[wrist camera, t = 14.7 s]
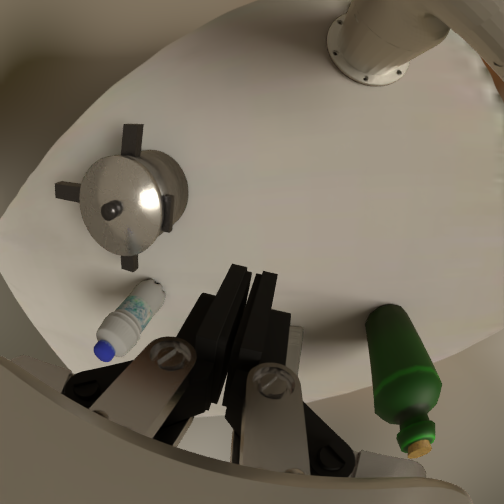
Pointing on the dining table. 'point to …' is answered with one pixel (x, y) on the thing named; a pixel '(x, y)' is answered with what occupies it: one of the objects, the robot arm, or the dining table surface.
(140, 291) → the bottle
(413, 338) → the bottle
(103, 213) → the lid
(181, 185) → the cooker
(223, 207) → the dining table surface
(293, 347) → the skincare box
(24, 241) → the dining table surface
